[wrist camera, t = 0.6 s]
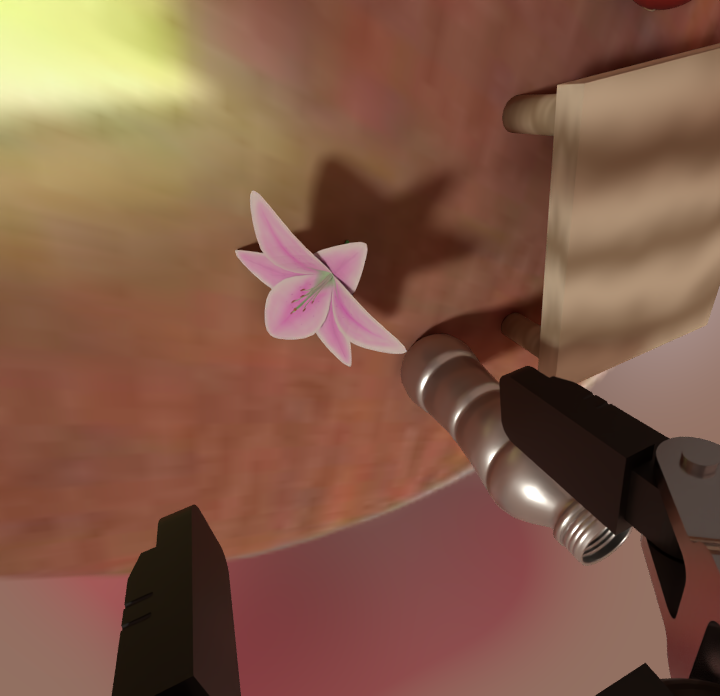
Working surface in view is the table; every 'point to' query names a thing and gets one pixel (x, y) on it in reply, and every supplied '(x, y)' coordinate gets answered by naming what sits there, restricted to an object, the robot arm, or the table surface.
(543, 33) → the table surface
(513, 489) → the plastic bottle
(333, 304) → the lily
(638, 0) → the kendama
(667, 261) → the footstool
